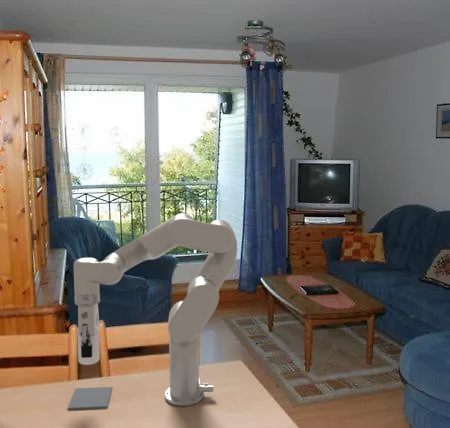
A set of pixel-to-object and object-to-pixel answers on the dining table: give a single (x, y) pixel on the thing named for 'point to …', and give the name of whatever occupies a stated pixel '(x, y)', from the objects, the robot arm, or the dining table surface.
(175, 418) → the dining table surface
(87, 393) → the mat
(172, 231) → the robot arm
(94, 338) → the can
